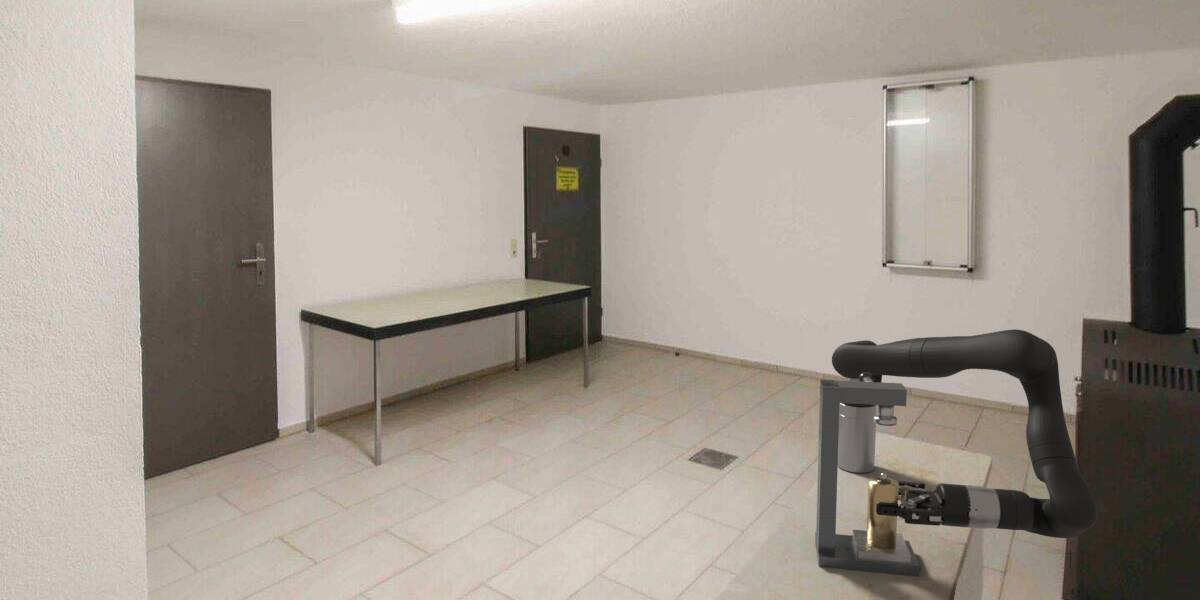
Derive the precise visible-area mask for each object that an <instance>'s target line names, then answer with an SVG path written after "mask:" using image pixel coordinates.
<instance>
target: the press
mask: <svg viewBox="0 0 1200 600" xmlns="http://www.w3.org/2000/svg"><path fill="white" fill-rule="evenodd" d="M873 381H874V378H873V376H872V374H870V373H868V372H864V373H862V374H860V376H859V382H855V381H850V380H838V379H820V384H819V413H818V414H819V416H818V417H819V419H818V449H817V450H818V455H817V487H816V488H817V490H816V493H817V494H816V524H815V525H816V529H815V531H816V532H815V533H814V535H815V537H814V543H815V550H816V554H817V555H816V556H817V562H818V563H817V564H818V567H822V568H833V569H841V570H850V571H859V572H861V571H862V572H872V573H880V574H890V575H891V574H892V575H900V576H902V575H903V576H910V577H920V574H921V573H920V572H921V571H920V570H921V566H920V564H919V561H918V559H917V556H916V554H915V552H914V549H913V547H912V545H911V543H910V541H909V540H905V539H904V537H903V534H902V533H896V546H895V547H894V548H891V549H881V548H877V547H874V546H872V545H870V544H868V543H867V530H861V529H852V534H851V535H850V534H837V533H836V530H837V529H836V528H837V501H838V500H837V499H838V492H837V491H838V468H839V467H838V436H839V404H840V403H849V404H870V405H877V412H876V415H875V416H874V423H876V425H879V426H885V427H893V426H896V425H898V417H896V416H895V407H896V406H897V407H907V399H908V398H907V395H908V394H907V393H908V390H907V389H906V387H905V386H904V384H903V383H902V382H900V383H899V382H881V383H879V382H873Z"/></svg>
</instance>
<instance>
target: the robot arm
mask: <svg viewBox="0 0 1200 600" xmlns="http://www.w3.org/2000/svg"><path fill="white" fill-rule="evenodd" d="M831 365H832V367H833V369H834V370H835V371H836V373H838V374H839V375H840V376H841V377H844V378H846V379H850V380H849V381H855V382H859V376H860V374H862V373H864V372H868V373H870V374H872V376H873V378H874V381H873V382H879V383H883V382H882V379H883V376H890V377H903V378H920V379H921V378H923V379H924V378H925V379H933V378H934V379H935V378H936V379H938V378H941V379H942V378H948V377H951V376H953V375H954V376H955V375H956V374H959V373H961V372H963V371H965V370H987V371H988V370H990V371H997V372H1002V373H1005V374H1007V375H1010V376H1011V377H1013V378H1016V379H1018V380H1019V382H1020V384H1021V386H1022V389H1023V391H1024V393H1025V396H1026V399H1027V404H1028V414H1027V424H1026V427H1025V428H1026V430H1025V437H1026V438H1025V439H1026V444H1027V449H1028V453H1029V458H1030V461H1031V465H1032V469H1033V472H1034V474H1035V477H1036V479H1037V480H1039V481H1040V482H1043V483H1045V486H1046V489H1047V492H1048V494H1049V498H1037V497H1030V495H1028V494H1027V493H1026V492H1024V491H1021V490H1017V489H1002V488H993V487H992V488H990V487H986V486H985V487H984V486H980V485H968V484H967V485H966V484H953V483H941V482H940V483H939V484H937V485H936V488H935V490H934V491H931V490H928V489H926V484H925V483H923V482H912V481H902V480H896V481H897V482H898V483H899V487H898V501H900V503H899V502H898V503H886V502H877V503H876V513H877V514H878V515H886V516H897V517H898V518H899V519H901V520H904V523H905V524H908V525H923V526H937V527H938V526H946V527H957V528H970V529H978V530H979V529H980V530H981V529H984V530H985V529H986V530H987V529H998V530H1008V531H1010V530H1011V531H1025V532H1028V533H1031V534H1035V535H1039V536H1044V537H1050V538H1056V539H1057V538H1058V539H1071V538H1075V537H1079V536H1080V535H1081V534H1082V533H1084V532H1086V531H1087V530H1089V529H1090V528H1092V527H1093V526H1094V525H1096V522H1097V520H1098V505H1097V502H1096V499H1095V497H1094V495H1093V492H1092V491H1091V489H1090V487H1089V485H1088V483H1087V481H1086V480H1085V478H1084V476H1083V475H1082V473H1081V471H1080V470H1079V466H1078V462H1077V458H1076V455H1075V452H1074V449H1073V445H1072V441H1071V438H1070V435H1069V431H1068V427H1067V423H1066V419H1065V414H1064V413H1065V412H1064V408H1063V400H1062V399H1063V398H1062V392H1061V390H1062V389H1061V385H1060V384H1061V382H1060V371H1059V362H1058V356H1057V353H1056V350H1055V348H1054V347H1053V346H1052V344H1050V342H1048V341H1046V340H1045V339H1043V338H1041V337H1038V336H1037V335H1035V334H1033V333H1031V332H1029V331H1027V330H1024V329H1023V330H1022V329H1006V330H1001V331H995V332H994V331H993V332H986V333H981V334H977V335H976V334H975V335H966V336H965V335H964V336H961V335H957V336H956V335H954V336H931V337H930V336H928V337H915V338H909V339H902V340H898V341H897V340H896V341H892V342H888V343H882V344H877V343H875V342H874V341H871V340H868V339H867V340H866V339H865V340H858V341H851V342H846V343H843V344H840V345H839V346H837V348H835V350H834V351H833V353H832V356H831ZM877 412H878V405H870V404H849V403H840V404H839V436H838V468H839V469H840V470H843V471H847V472H850V473H856V474H857V473H860V474H864V473H870V472H874V470H875V463H876V462H875V461H876V459H875V458H876V435H877V434H876V433H877V424H876V423H874V416H875V415H877Z"/></svg>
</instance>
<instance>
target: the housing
mask: <svg viewBox="0 0 1200 600" xmlns="http://www.w3.org/2000/svg"><path fill="white" fill-rule="evenodd" d="M897 481H898V480H896V479H893V478H890V477H888V474H887V473H886V472H881V473H880V476H872V477H870V478H869V479H868V486H867V487H868V491H867V492H868V493H867V515H866V516H867V517H866V519H867V520H866V531H867V543H868V544H870V545H872V546H874V547H877V548H881V549H891V548H894V547H895V546H896V533H897V532H898V531H897V529H898V516H886V515H878V514H877V513H876V503H877V502H886V503H898V504H899V500H898V487H899V483H898V482H897ZM897 534H898V533H897Z"/></svg>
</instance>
